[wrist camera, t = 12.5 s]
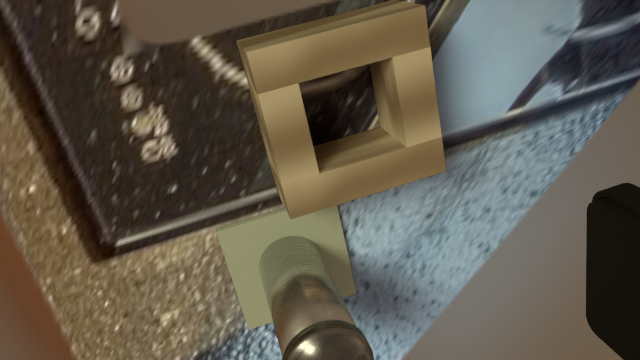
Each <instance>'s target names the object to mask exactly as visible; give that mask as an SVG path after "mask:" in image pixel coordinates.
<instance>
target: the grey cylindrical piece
mask: <svg viewBox="0 0 640 360" xmlns="http://www.w3.org/2000/svg"><path fill="white" fill-rule="evenodd" d="M259 272H260V276H261V280H262V284H263V287H264V291H265V295H266V298H267V302H268V306H269V309H270V313H271V316H272V320H273V324H274V327H275V331H276V335H277V338H278V342H279V346H280V349H281V353H282V357H283V358H282V360H374V357H373V352H372V349H371V347H370V345H369V343H368V341H367V339H366V337H365V335H364V334H363V333H362V331H361V330H360V329H359V328H357V327H356V325H355V323H354V321H353V319H352V317H351V315H350V313H349V311H348V309H347V307H346V305H345V303H344V301H343V299H342V297H341V295H340V293H339V291H338V289H337V286H336V284H335V282H334V280H333V278H332V276H331V274H330V272H329V270H328V268H327V266H326V264H325V262H324V260H323V258H322V256H321V254H320V252H319V250H318V248H317V247H316V245H315V244H314V243H313V242H311V241H310V240H308V239H306V238H304V237H300V236H287V237H283V238H280V239H278V240H276V241H274V242H273V243H271V244H270V245H269V246H268V247H267V248H266V249H265V250H264V252H263V254H262V255H261V258H260V261H259Z"/></svg>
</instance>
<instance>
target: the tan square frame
mask: <svg viewBox="0 0 640 360" xmlns="http://www.w3.org/2000/svg"><path fill="white" fill-rule="evenodd" d="M237 44H238V48H239V51H240V55H241V59H242V63H243V66H244V70H245V74H246V77H247V81H248V85H249V89H250V92H251V96H252V100H253V103H254V107H255V111H256V114H257V118H258V122H259V126H260V129H261V133H262V137H263V140H264V144H265V148H266V151H267V155H268V159H269V163H270V166H271V170H272V174H273V177H274V181H275V185H276V189H277V192H278V194H279V196H280V198H281V200H282V202H283V204H284V206H285V208H286V210H287V212H288V214H289V217H290V219H294V218H297V217H300V216H304V215H307V214H310V213H313V212H316V211H320V210H323V209H326V208H329V207H332V206H336V205H339V204H342V203H345V202H348V201H352V200H355V199H358V198H361V197H364V196H368V195H371V194H374V193H377V192H380V191H384V190H387V189H390V188H393V187H396V186H400V185H403V184H406V183H409V182H413V181H416V180H419V179H422V178H425V177H429V176H432V175H435V174H438V173H441V172H445V171H446V165H445V157H444V149H443V142H442V134H441V126H440V118H439V110H438V103H437V95H436V87H435V79H434V71H433V64H432V56H431V48H430V40H429V32H428V25H427V17H426V9H425V5H420V4H414V3H409V2H403V1H398V0H392V1H388V2H384V3H380V4H376V5H372V6H369V7H365V8H361V9H357V10H353V11H349V12H345V13H342V14H338V15H334V16H330V17H326V18H322V19H318V20H315V21H311V22H307V23H303V24H299V25H295V26H291V27H288V28H284V29H280V30H276V31H272V32H268V33H264V34H261V35H257V36H253V37H249V38H245V39H241V40H237ZM366 64H369V65H370V71H371V77H372V82H373V88H374V94H375V99H376V105H377V111H378V116H379V122H380V127H378V128H374V129H371V130H367V131H364V132H361V133H357V134H354V135H350V136H347V137H344V138H340V139H337V140H333V141H330V142H327V143H323V144H320V145H316V146H313V144H312V139H311V135H310V131H309V127H308V122H307V118H306V114H305V109H304V105H303V101H302V96H301V92H300V88H299V83H301V82H305V81H308V80H312V79H316V78H319V77H323V76H326V75H330V74H334V73H337V72H341V71H345V70H348V69H352V68H355V67H359V66H363V65H366Z"/></svg>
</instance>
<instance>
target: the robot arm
mask: <svg viewBox="0 0 640 360" xmlns="http://www.w3.org/2000/svg"><path fill="white" fill-rule="evenodd" d="M586 266H587V267H586V317H587V321H588V324H589V326H590V327H591V329H592V331H593V332H594V333H595V334H596V335H597V336H598V337H599V338H600V339H601V340H602V341H604V342H605V343H606V344H607V345H608V346H609V347H610V348H611V349H612V350H614V351H615V352H616V353H617V354H618V355H619V356H620V357H621V358H622V359H624V360H640V188H639V187H637V186H635V185H633V184H630V183H623V184H620V185H617V186H614V187H611V188H608V189H605V190H602V191H599V192H597V193H596V194H595V195H594V197H593V200H592V202H591V203H590V204H589V205H588V207H587V260H586Z"/></svg>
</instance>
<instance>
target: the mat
mask: <svg viewBox="0 0 640 360" xmlns="http://www.w3.org/2000/svg"><path fill="white" fill-rule="evenodd" d="M216 232H217V235H218V238H219V241H220V244H221V247H222V250H223V253H224V256H225V259H226V262H227V265H228V268H229V271H230V274H231V277H232V280H233V283H234V286H235V289H236V292H237V295H238V298H239V301H240V304H241V307H242V310H243V313H244V317H245V320H246V323H247V326H248V329H249V330H250V329H253V328H256V327H259V326H262V325H265V324H268V323H271V322H273V320H272V316H271V313H270V309H269V306H268V302H267V298H266V295H265V291H264V287H263V284H262V280H261V276H260V272H259V261H260V258H261V255H262V254H263V252H264V250H265V249H266V248H267V247H268V246H269V245H270V244H271V243H273V242H274V241H276V240H278V239H280V238H283V237H287V236H300V237H304V238H306V239H308V240H310V241H311V242H313V243H314V244H315V245H316V247H317V248H318V250H319V252H320V254H321V256H322V258H323V260H324V262H325V264H326V266H327V268H328V270H329V272H330V274H331V276H332V278H333V280H334V282H335V284H336V286H337V289H338V291H339V293H340V295H341V297H342V298H345V297H348V296H351V295H353V294H356V293H357V292H356V288H355V283H354V279H353V274H352V270H351V265H350V261H349V256H348V252H347V248H346V243H345V239H344V234H343V230H342V225H341V221H340V216H339V212H338V207H337V205H336V206H332V207H329V208H326V209H323V210H320V211H316V212H313V213H310V214H307V215H304V216H300V217H297V218H294V219H290V217H289V214H288V212H287V210H286V208H282V209H279V210H275V211H272V212H269V213H266V214H262V215H259V216H256V217H253V218H250V219H246V220H243V221H240V222H237V223H233V224H230V225H227V226H224V227H220V228H217V229H216Z"/></svg>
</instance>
